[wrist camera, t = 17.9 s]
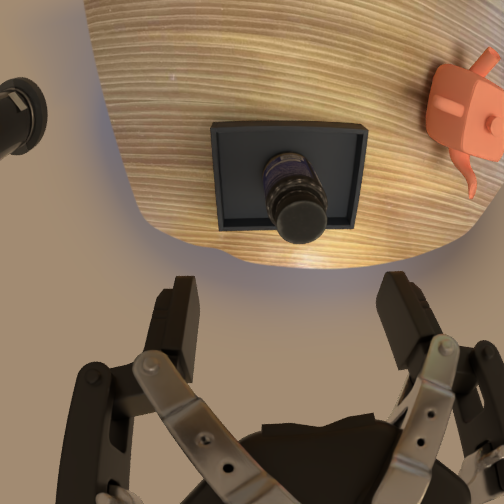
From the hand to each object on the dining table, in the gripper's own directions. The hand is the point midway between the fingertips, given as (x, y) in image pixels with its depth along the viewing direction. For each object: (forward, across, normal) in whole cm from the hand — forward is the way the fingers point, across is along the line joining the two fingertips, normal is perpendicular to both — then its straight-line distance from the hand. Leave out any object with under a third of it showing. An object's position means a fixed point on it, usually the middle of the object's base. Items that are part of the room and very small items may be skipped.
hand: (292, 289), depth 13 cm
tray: (+26, -3, +6) cm, 27 cm away
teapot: (+26, -24, -6) cm, 36 cm away
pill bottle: (+25, -3, +6) cm, 26 cm away
